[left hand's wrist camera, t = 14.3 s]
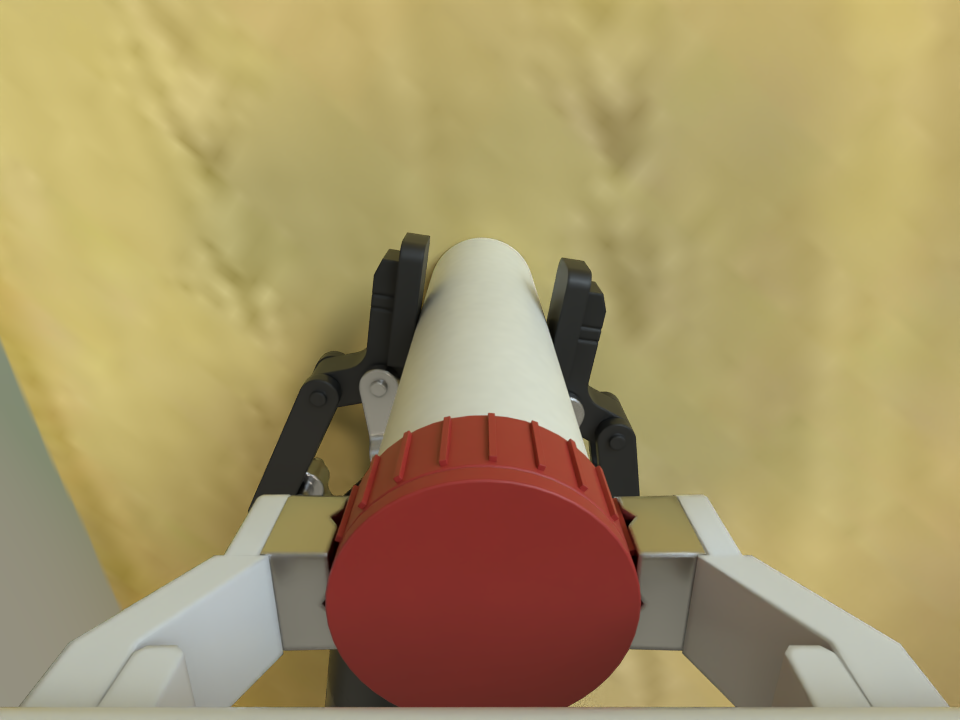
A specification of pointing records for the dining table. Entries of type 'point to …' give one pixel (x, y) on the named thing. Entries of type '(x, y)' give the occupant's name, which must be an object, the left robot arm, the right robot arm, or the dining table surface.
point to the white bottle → (482, 348)
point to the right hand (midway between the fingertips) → (495, 254)
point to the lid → (482, 570)
